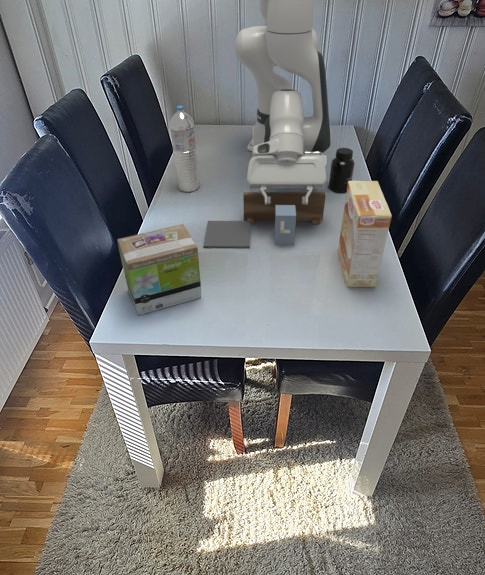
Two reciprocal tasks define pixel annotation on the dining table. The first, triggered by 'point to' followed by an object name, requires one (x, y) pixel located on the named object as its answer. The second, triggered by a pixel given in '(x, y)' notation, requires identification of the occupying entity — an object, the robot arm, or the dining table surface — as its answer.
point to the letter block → (285, 224)
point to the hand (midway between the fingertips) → (286, 204)
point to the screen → (260, 211)
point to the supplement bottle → (341, 170)
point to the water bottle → (184, 150)
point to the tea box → (161, 268)
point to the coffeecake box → (363, 233)
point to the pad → (227, 234)
